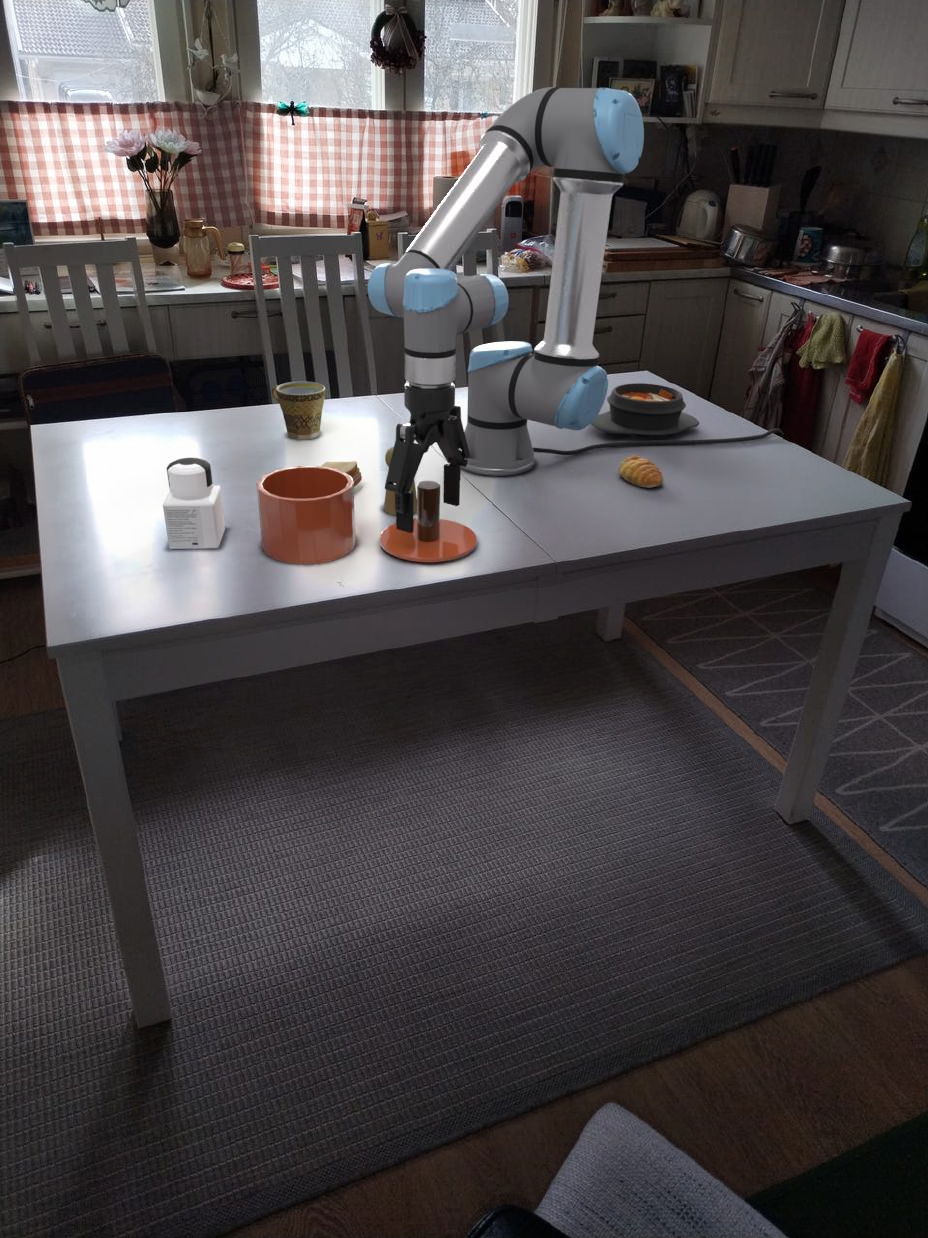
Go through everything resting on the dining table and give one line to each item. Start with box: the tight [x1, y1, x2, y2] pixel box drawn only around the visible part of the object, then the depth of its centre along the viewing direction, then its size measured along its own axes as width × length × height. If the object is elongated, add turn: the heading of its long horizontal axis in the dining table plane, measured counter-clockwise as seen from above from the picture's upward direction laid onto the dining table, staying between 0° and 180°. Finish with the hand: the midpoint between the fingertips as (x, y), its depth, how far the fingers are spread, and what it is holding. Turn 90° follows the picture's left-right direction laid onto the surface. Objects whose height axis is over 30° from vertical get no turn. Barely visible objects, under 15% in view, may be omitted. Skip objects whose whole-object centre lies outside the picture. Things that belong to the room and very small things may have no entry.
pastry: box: [618, 455, 664, 489], centre depth 174 cm, size 9×7×4 cm
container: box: [162, 457, 226, 550], centre depth 144 cm, size 8×8×13 cm
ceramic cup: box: [271, 381, 326, 441], centre depth 192 cm, size 13×10×10 cm
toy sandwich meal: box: [320, 460, 363, 488], centre depth 167 cm, size 12×14×5 cm
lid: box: [379, 480, 478, 563], centre depth 146 cm, size 16×16×10 cm
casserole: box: [590, 382, 700, 438], centre depth 201 cm, size 25×19×8 cm
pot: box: [256, 465, 357, 565], centre depth 145 cm, size 15×15×10 cm
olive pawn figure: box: [383, 446, 417, 516], centre depth 158 cm, size 6×6×11 cm
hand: (428, 516), depth 146 cm, fingers open, 12 cm apart
